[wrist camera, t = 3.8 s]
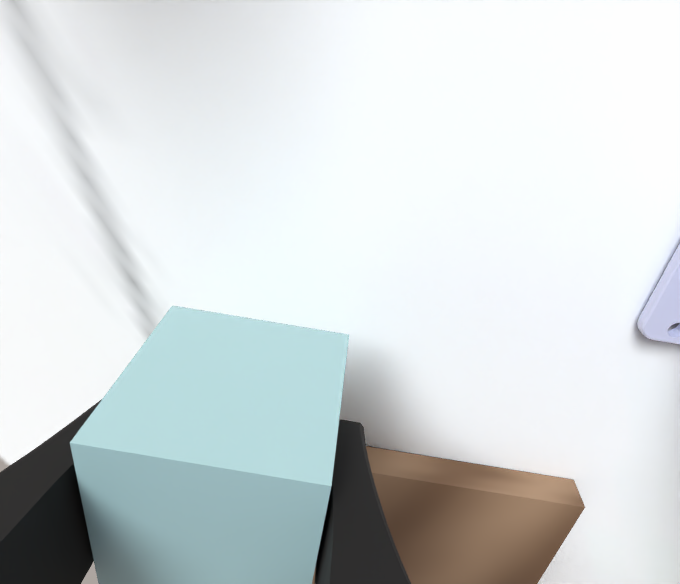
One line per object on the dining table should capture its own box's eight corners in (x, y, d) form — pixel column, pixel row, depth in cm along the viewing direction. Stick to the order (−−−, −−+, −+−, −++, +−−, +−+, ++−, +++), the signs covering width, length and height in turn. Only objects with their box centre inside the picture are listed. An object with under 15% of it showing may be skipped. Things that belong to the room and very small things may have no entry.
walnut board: (573, 479, 18) (585, 507, 17) (495, 614, 23) (500, 641, 22) (266, 430, 18) (260, 454, 17) (253, 575, 23) (247, 601, 22)
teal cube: (349, 335, 12) (331, 485, 8) (326, 457, 14) (303, 622, 10) (172, 305, 12) (69, 442, 8) (178, 432, 14) (99, 587, 10)
